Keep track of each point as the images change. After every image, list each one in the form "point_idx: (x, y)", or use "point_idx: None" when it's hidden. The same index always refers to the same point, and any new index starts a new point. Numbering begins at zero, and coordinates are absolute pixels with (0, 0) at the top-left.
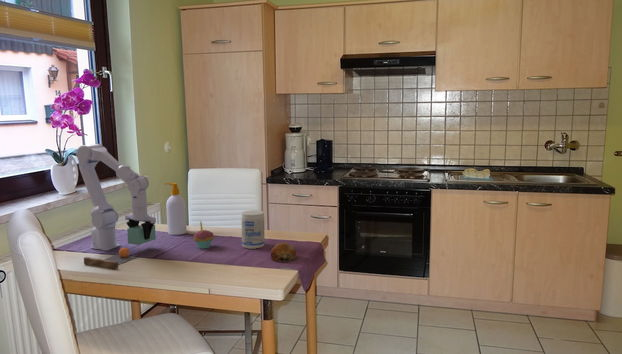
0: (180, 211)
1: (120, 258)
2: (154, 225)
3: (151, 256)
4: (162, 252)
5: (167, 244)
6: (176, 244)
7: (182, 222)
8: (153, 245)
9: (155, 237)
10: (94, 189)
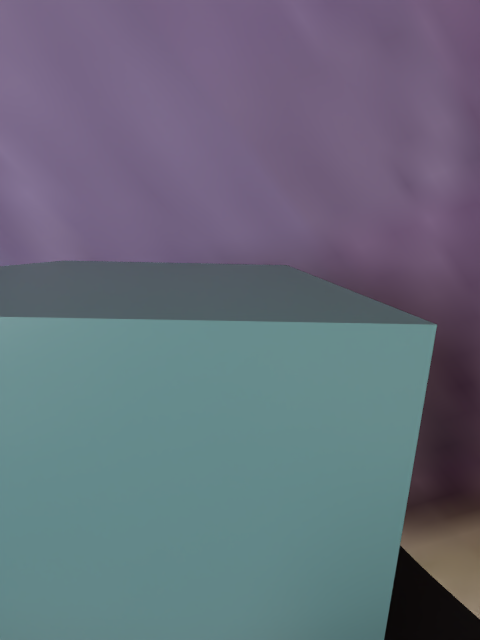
0: None
1: None
2: (419, 372)
3: (409, 488)
4: (444, 367)
5: (319, 78)
6: (441, 27)
7: None
8: (178, 191)
9: (292, 268)
10: None
